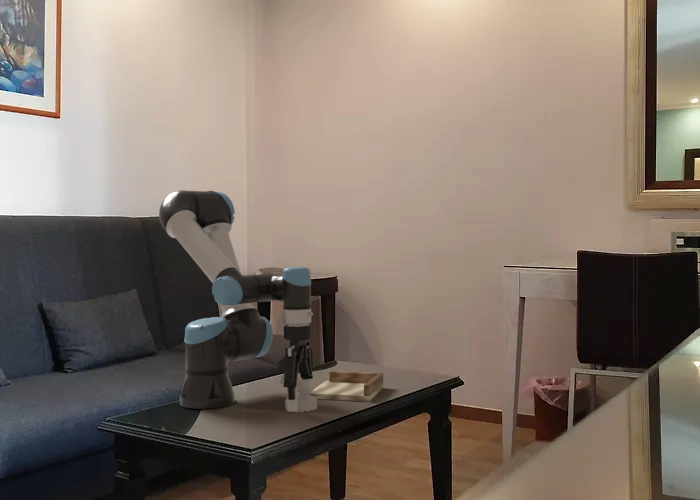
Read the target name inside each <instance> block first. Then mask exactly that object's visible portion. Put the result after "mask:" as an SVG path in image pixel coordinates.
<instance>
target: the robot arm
mask: <svg viewBox="0 0 700 500" xmlns="http://www.w3.org/2000/svg"><path fill="white" fill-rule="evenodd" d="M158 212H159V213H158V217H159V221H160V225H161V226H162V228H163V230H164V231H165V233H166V234H167V235H168V236H169V237H171V238H173V239H176V240H177V242H178V243H179V244H180V245H181V246H182V248H183V249H184V250H185V251H186V253H188V255H189V256H190V257H191V259H192V260H193V261H194V262H195V263H196V265H197V266H198V267H199V269H200V270H201V271H202V272H203V274H204V275H206V277H207V278H208V280H210V282H211V283H212V287H211V292H212V294H211V295H213V299H214V301H215V302H216V303H217V304H219V306H220V308H221V312H222V314H221V316H212V317H209V318H208V317H204V318H200V319H197V320H194V321H191V322H189V323H187V325H186V326H185V328H184V329H185V330H184V340H183V341H184V349H185V350H184V355H185V356H184V357H185V378H184V381H183V384H182V387H181V391H180V394H179V405H180V407H183V408H187V409H198V410H201V409H202V410H203V409H204V410H205V409H217V408H223V407H227V406H229V405H230V406H231V405H233V404H234V403H235V401H236V400H235V399H236V397H235V391H234V387H233V384H232V382H231V379H230V376H229V367H228V366H229V365H228V363H231V362H238V361H244V360H254V359H256V358H259V357H263V356H265V355H266V354H267V353H268V352H269V351H270V348H271V346H272V343H273V339H274V330H273V327H272V323H271V321H270V320H269V319H267V318H266V317H264V316H261V315H260V313H259V309H258V308H257V307H256V306H254V305H253V304H251V303H262V302H263V303H264V302H273V301H274V302H283V307H282V312H283V313H282V314H283V315H282V316H283V317H282V318H283V319H282V321H283V324H284V326H283V339H284V340H286V341H289V346H288V348H285V350H284V352H285V353H284V354H285V359H284V361H285V363H284V373H285V374H284V373H283V374H284V384H282V385H283V388H286V398H287V406H288V410H287V413H288V412H290V413H291V412H292V413H299V412H298V395H304V394H302V393H300V392H298V387H296V384H297V378H298V377H299V375H300V378H299V379H300V380H302V381H304V382H306V383H308V384H310V383H311V381H310V380H313V378H314V375H313V367H312V357H311V342H310V341H309V340H311V339H312V336H313V335H312V331H313V330H312V325H311V323H312V317H313V316H314V312H312V279H311V271H310V268H308V267H304V266H301V267H300V266H291V267H290V266H289V267H284V268H283V270H282V273H272V272H263V273H258V274H249V275H248V274H247V275H244V274H242V273H241V269H240V266H239V263H238V259H237V256H236V254H235V253H236V252H235V250H234V247H233V244H232V241H231V237H230V232H231V230H232V228H233V226H232V225H233V223H234V221H235V216H234V215H235V213H236V212H235V207H234V203H233V202H232V200H231V199H230V197H229V196H228V195H227V194H226V193H223V192H221V191H214V190H207V191H205V190H204V191H202V190H177V191H173V192H171V193H170V194H168V195H167V196H166V197H165V198H164V199H163V200H162V202H161V204H160V207H159V209H158ZM290 381H291V382H290ZM310 385H311V384H310ZM309 396H310V395H309Z"/></svg>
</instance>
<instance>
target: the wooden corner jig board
mask: <svg viewBox="0 0 700 500" xmlns="http://www.w3.org/2000/svg"><path fill="white" fill-rule="evenodd" d="M328 375H329V380H325V381H324V382H322V383H321V384H319V385H318V386H316V387H315V388H313V392H312V394H310V396H314V397H316V398H317V400H327V401H328V400H329V401H331V400H332V401H333V400H334V401H350V400H351V401H352V402H371V401H372V400H373V398H375V397H376V396H377V395H378V393H380V392H381V391H382V390H384V373H383V372H363V371H360V372H359V371H340V370H339V371H338V370H337V371H335V370H334V371H332V370H330V371H329V374H328ZM351 401H350V402H351Z"/></svg>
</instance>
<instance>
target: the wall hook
mask: <svg viewBox="0 0 700 500" xmlns="http://www.w3.org/2000/svg"><path fill="white" fill-rule="evenodd" d="M284 374H285V372H284V373H283V374H282V376H281V377H280V380H279V383H280V384H281V385H284ZM300 379H301V378H298V377H297V384H296V387H298V393H299V394H298V412H297V413H304V411H307V412H311V410H312V411H315V410H317V409H318V399H317V398H316V397H314V396H309V395H310V394H312V392H313V389H314V388H313V386H312V384H308V383H306V382H304V381H302V380H300ZM290 382H291V381H290ZM300 393H302V394H304V395H300ZM284 404H285V405H284V407H285V409H284V410H285V411H288V406H287V397H285V400H284Z"/></svg>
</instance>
